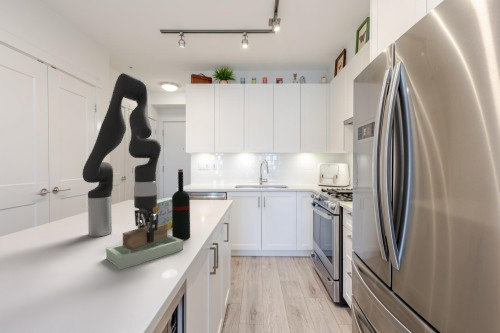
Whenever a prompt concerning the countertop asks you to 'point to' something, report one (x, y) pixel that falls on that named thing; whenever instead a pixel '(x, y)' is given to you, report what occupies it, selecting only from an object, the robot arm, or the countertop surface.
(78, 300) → the countertop surface
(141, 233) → the walnut plank
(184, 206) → the wine bottle
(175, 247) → the pale green tray
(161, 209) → the snack box
